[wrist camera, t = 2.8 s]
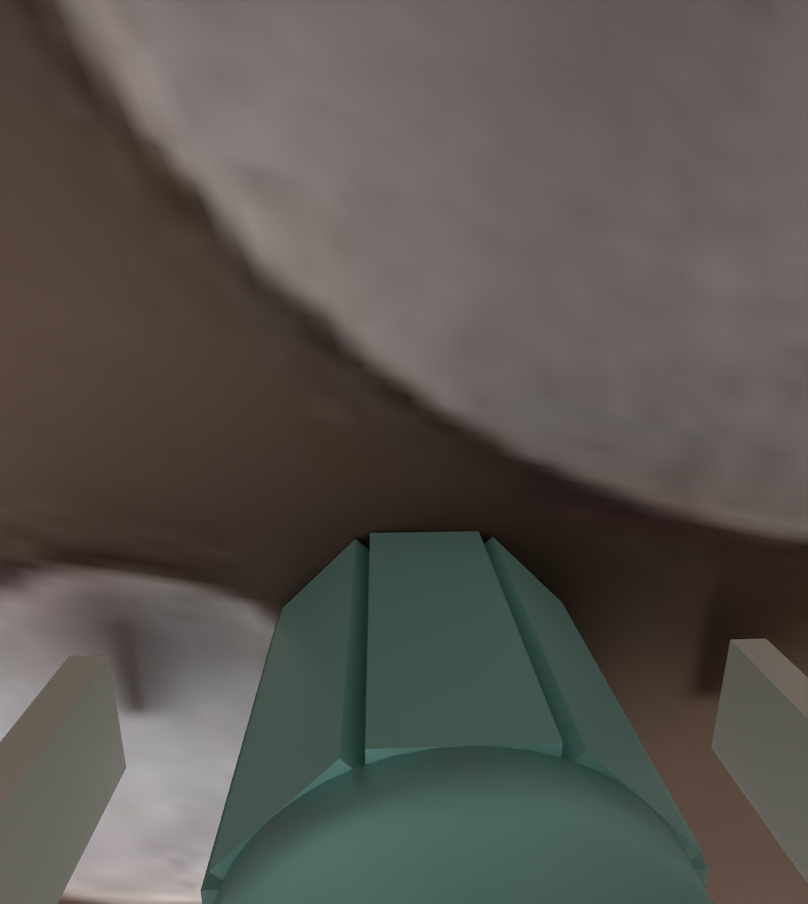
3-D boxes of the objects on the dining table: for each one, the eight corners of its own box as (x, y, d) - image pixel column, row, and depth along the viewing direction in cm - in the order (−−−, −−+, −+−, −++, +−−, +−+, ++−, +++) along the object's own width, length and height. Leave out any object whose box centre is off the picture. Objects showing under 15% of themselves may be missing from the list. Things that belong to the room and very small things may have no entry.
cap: (271, 534, 13) (129, 893, 5) (574, 529, 13) (832, 865, 6) (287, 780, 14) (197, 1300, 7) (552, 771, 15) (725, 1262, 7)
